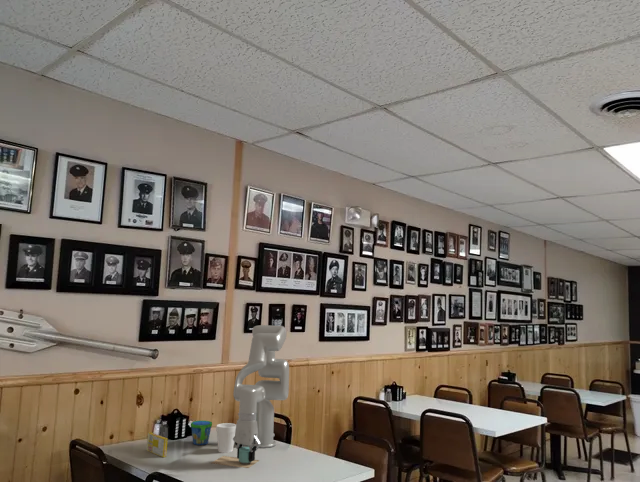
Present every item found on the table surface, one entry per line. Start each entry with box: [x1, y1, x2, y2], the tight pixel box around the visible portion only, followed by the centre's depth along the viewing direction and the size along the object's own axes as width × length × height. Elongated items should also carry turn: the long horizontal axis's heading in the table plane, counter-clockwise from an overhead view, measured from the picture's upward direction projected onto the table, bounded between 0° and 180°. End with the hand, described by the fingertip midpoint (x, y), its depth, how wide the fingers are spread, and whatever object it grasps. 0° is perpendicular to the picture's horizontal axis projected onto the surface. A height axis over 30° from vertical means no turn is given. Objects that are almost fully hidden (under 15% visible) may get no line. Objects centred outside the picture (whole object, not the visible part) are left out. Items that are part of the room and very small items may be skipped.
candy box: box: [146, 431, 169, 458], centre depth 245 cm, size 16×2×8 cm, turn 45°
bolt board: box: [210, 455, 261, 469], centre depth 230 cm, size 12×18×6 cm, turn 73°
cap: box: [239, 446, 252, 463], centre depth 229 cm, size 6×6×5 cm
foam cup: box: [215, 422, 237, 454], centre depth 247 cm, size 10×9×13 cm
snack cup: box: [190, 420, 213, 446], centre depth 264 cm, size 16×10×10 cm
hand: (245, 459), depth 229 cm, fingers closed on cap, 6 cm apart
